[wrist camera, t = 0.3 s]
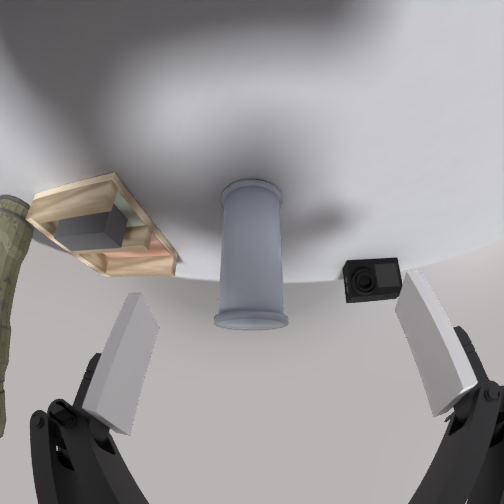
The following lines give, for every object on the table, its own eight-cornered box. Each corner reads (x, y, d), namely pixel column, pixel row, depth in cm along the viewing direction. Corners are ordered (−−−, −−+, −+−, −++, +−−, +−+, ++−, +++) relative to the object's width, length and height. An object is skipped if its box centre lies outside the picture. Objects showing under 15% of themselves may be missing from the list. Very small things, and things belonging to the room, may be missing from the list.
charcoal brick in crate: (62, 211, 29) (53, 238, 27) (112, 201, 28) (103, 232, 26) (78, 225, 32) (71, 251, 31) (127, 219, 32) (121, 247, 30)
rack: (35, 193, 27) (25, 219, 25) (114, 172, 25) (103, 203, 23) (108, 256, 45) (104, 276, 43) (177, 252, 44) (174, 275, 42)
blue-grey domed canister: (215, 181, 27) (205, 318, 22) (281, 177, 27) (288, 316, 21) (227, 216, 34) (222, 330, 28) (282, 213, 33) (287, 329, 27)
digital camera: (400, 254, 44) (407, 290, 41) (390, 265, 49) (396, 299, 46) (348, 257, 45) (353, 295, 42) (342, 268, 50) (346, 303, 47)
